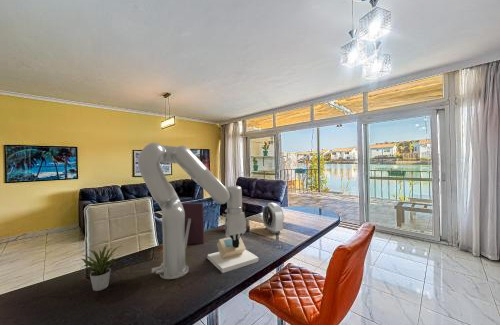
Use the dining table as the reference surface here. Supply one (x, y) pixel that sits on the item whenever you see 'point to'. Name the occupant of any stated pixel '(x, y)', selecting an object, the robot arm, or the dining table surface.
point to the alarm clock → (273, 218)
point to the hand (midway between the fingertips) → (235, 246)
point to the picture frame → (194, 223)
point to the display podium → (232, 260)
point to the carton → (229, 247)
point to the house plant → (100, 269)
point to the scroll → (244, 215)
